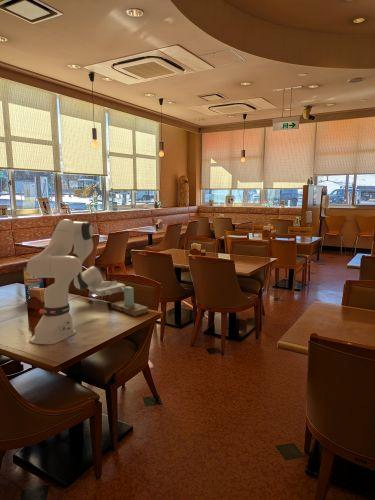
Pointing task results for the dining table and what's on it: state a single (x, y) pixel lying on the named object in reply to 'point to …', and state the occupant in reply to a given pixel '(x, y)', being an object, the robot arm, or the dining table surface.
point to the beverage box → (31, 282)
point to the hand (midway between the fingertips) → (117, 291)
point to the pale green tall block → (129, 296)
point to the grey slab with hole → (130, 308)
